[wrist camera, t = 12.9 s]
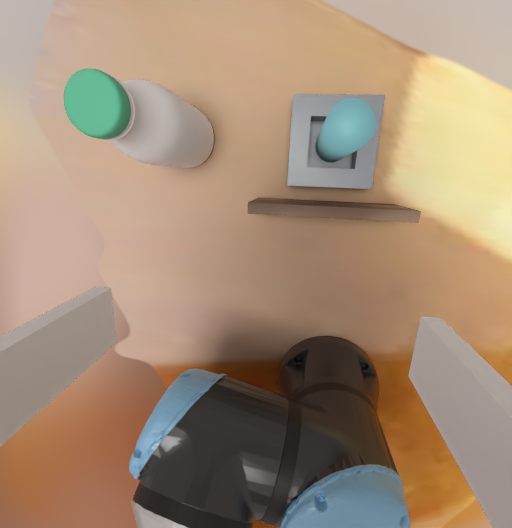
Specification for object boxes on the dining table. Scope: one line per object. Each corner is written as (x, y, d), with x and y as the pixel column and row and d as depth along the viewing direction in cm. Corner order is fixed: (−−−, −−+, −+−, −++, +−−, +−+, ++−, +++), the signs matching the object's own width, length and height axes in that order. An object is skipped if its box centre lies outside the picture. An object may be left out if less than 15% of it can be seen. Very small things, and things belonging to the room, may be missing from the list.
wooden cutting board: (392, 213, 40) (418, 223, 31) (258, 206, 42) (247, 213, 33) (394, 204, 39) (420, 211, 31) (258, 197, 42) (247, 202, 33)
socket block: (364, 188, 39) (371, 189, 36) (288, 184, 41) (287, 185, 37) (376, 103, 37) (385, 94, 33) (293, 103, 38) (293, 94, 34)
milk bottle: (207, 100, 39) (120, 24, 20) (221, 161, 41) (153, 145, 22) (153, 115, 41) (25, 59, 21) (169, 174, 42) (64, 169, 23)
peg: (346, 162, 38) (372, 152, 24) (314, 162, 38) (322, 151, 25) (349, 128, 37) (379, 97, 23) (316, 128, 37) (326, 98, 24)
